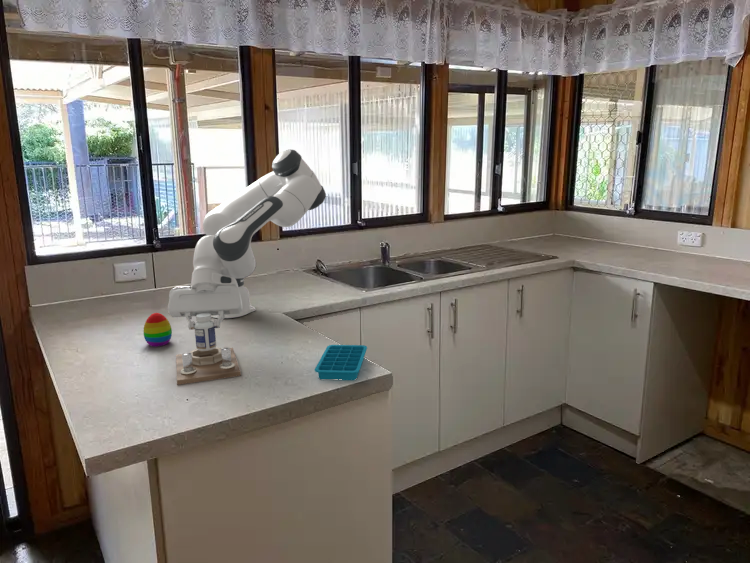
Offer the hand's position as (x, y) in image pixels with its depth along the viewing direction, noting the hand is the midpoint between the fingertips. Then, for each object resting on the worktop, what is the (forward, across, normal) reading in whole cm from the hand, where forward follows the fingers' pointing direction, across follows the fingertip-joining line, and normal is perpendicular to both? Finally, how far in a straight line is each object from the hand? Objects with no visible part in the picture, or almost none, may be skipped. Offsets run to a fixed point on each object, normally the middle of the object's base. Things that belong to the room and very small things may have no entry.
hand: (204, 328), depth 154 cm
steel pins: (+12, +1, +1) cm, 12 cm away
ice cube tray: (+14, +38, +2) cm, 40 cm away
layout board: (+9, 0, +6) cm, 11 cm away
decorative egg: (-7, -18, +22) cm, 29 cm away
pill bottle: (+4, 0, +5) cm, 6 cm away
